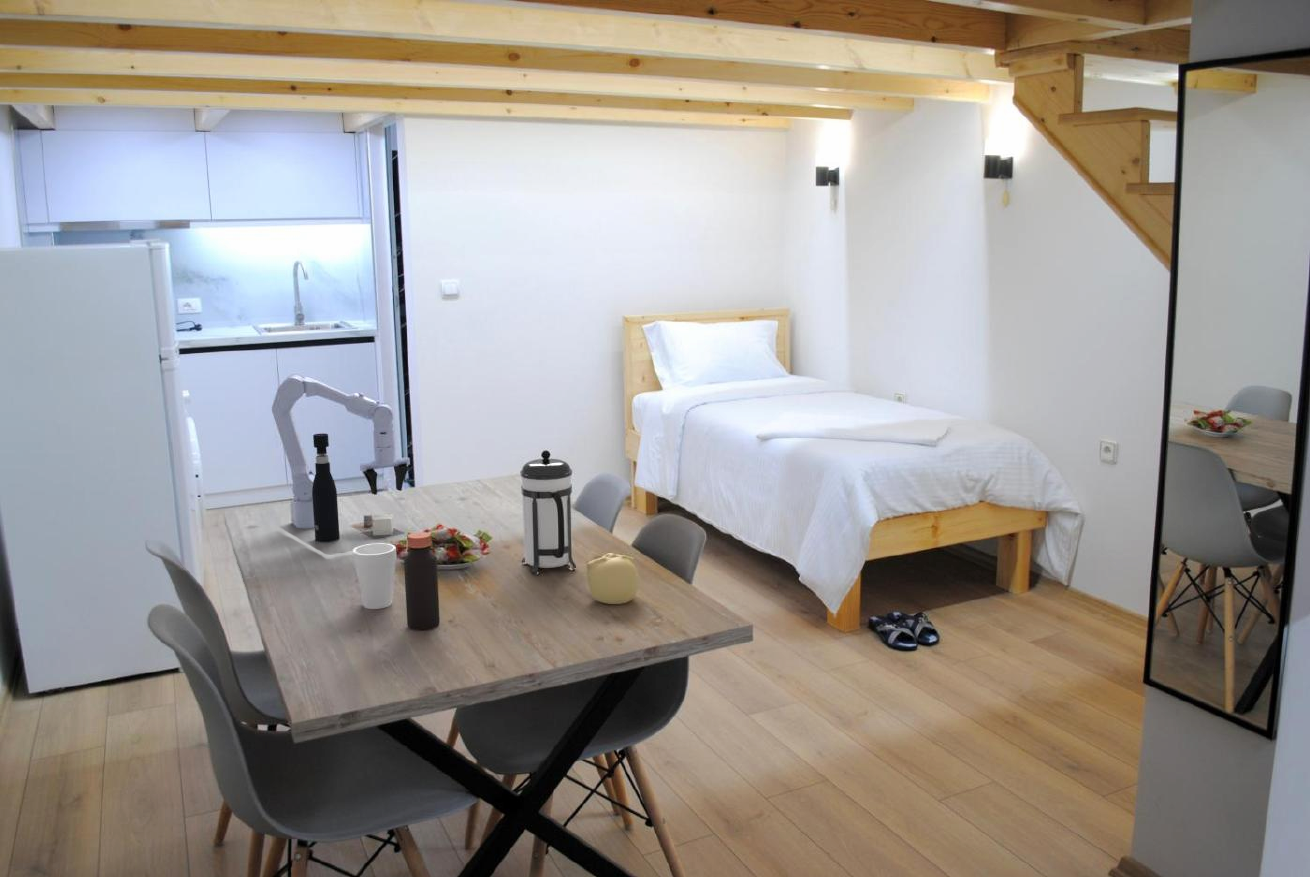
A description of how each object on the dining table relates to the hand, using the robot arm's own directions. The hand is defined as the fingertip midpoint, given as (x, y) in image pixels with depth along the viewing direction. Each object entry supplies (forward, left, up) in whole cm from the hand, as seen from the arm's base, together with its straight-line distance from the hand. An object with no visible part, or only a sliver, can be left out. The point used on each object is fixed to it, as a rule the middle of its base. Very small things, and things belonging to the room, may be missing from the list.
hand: (386, 492), depth 307 cm
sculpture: (+96, +11, -10) cm, 97 cm away
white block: (+12, -7, -8) cm, 16 cm away
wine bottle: (+8, -21, -10) cm, 25 cm away
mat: (+12, -7, -9) cm, 17 cm away
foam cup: (+64, -32, -10) cm, 72 cm away
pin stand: (+2, -7, -9) cm, 12 cm away
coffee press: (+67, +13, -10) cm, 69 cm away
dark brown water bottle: (+83, -30, -10) cm, 89 cm away
